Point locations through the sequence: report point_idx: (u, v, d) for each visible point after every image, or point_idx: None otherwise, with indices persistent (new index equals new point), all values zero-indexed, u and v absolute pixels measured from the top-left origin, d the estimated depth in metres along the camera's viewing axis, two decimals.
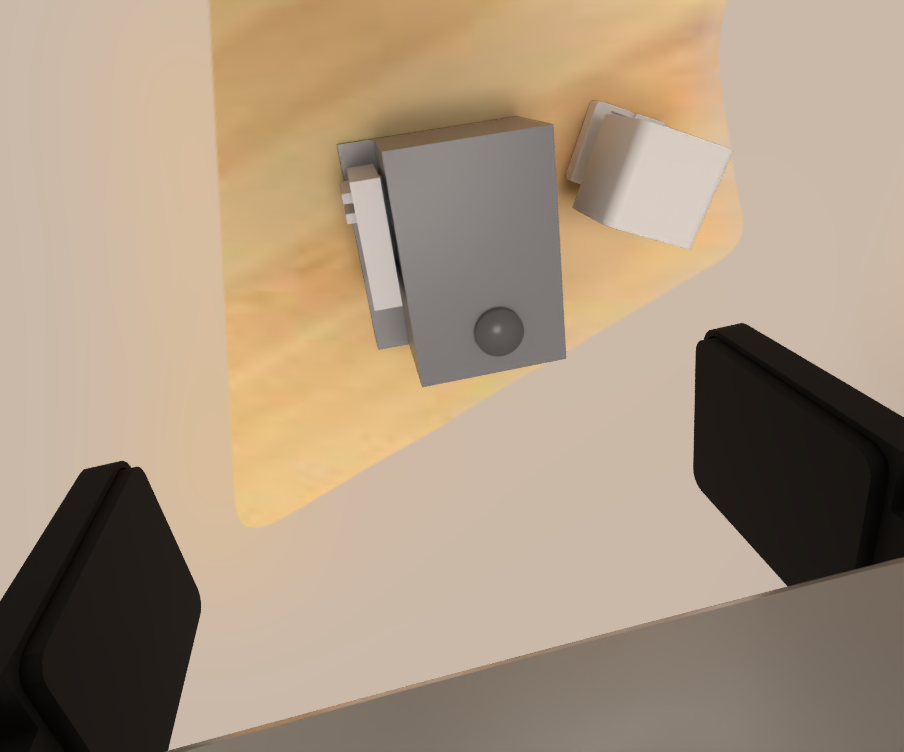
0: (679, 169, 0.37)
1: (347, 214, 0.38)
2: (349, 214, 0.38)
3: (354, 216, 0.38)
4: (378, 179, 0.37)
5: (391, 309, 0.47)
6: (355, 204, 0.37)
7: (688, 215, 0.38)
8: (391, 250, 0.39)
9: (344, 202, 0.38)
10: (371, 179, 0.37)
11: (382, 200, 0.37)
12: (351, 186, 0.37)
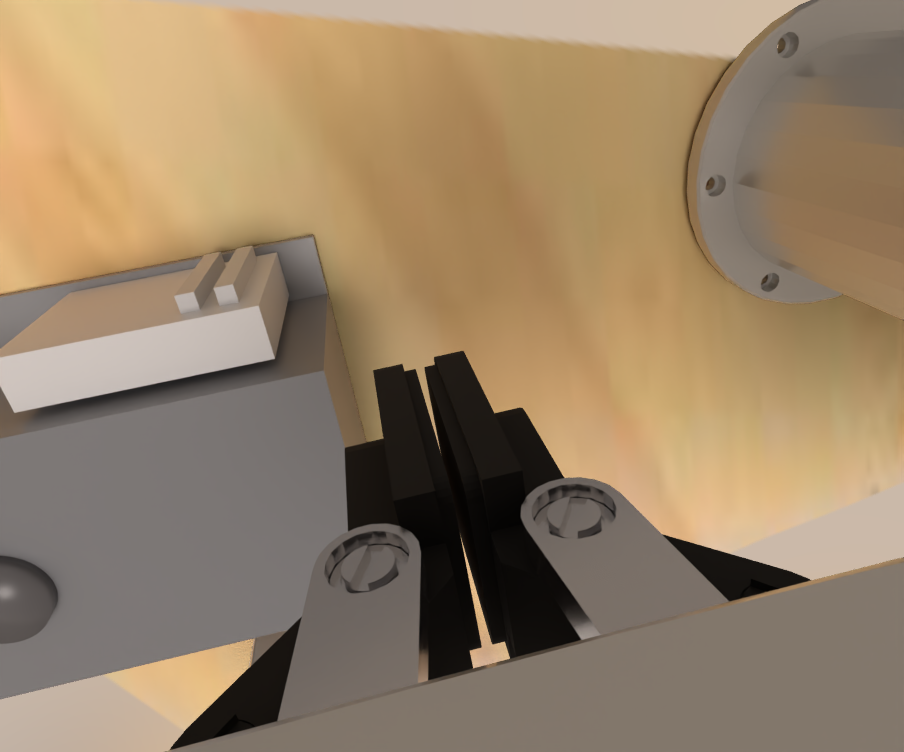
0: None
1: (194, 295, 0.19)
2: (195, 299, 0.20)
3: (192, 308, 0.20)
4: (271, 356, 0.20)
5: None
6: (217, 317, 0.19)
7: None
8: (134, 385, 0.20)
9: (217, 290, 0.19)
10: (269, 343, 0.20)
11: (232, 364, 0.20)
12: (251, 309, 0.19)
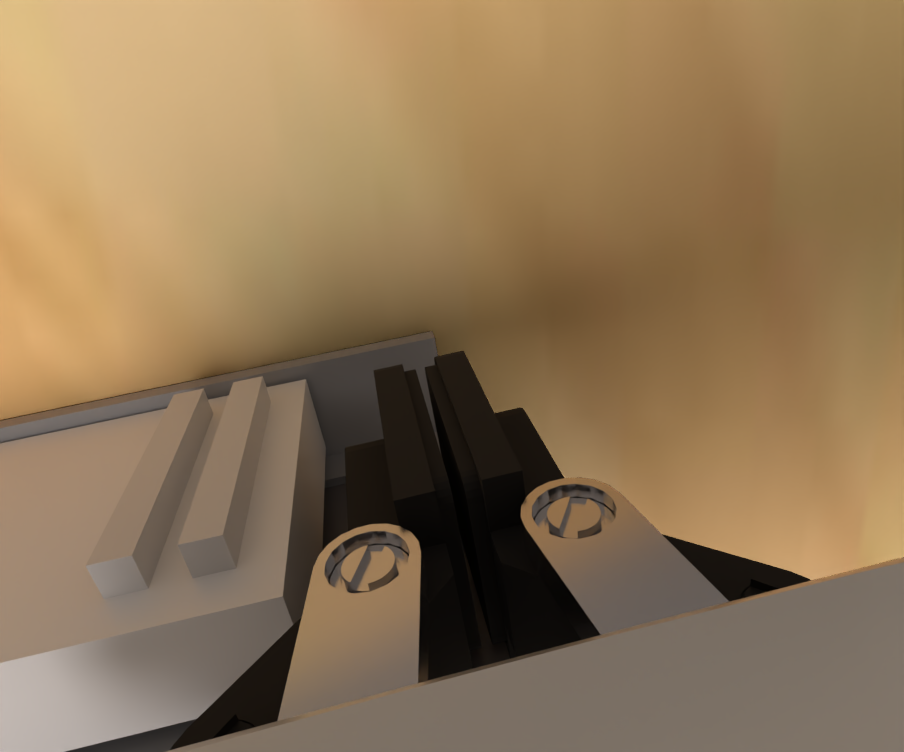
0: None
1: (134, 559, 0.08)
2: (136, 567, 0.08)
3: (131, 587, 0.09)
4: None
5: None
6: (185, 626, 0.08)
7: None
8: None
9: (188, 548, 0.08)
10: None
11: None
12: (266, 605, 0.08)
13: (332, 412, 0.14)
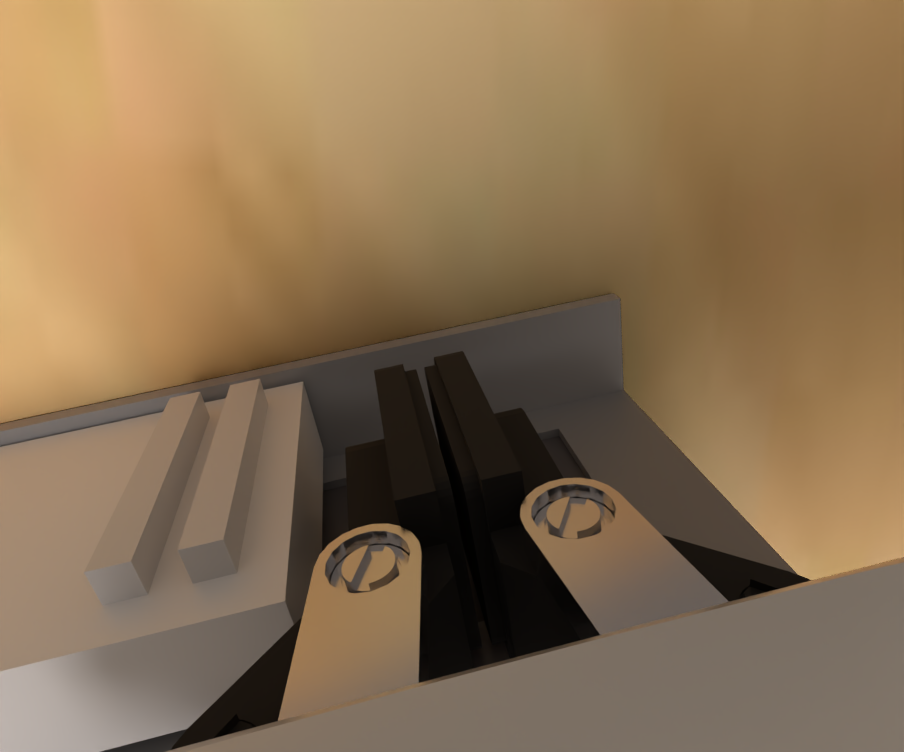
0: None
1: (133, 565, 0.08)
2: (135, 573, 0.08)
3: (130, 594, 0.08)
4: None
5: None
6: (186, 633, 0.08)
7: None
8: None
9: (188, 553, 0.08)
10: None
11: None
12: (268, 610, 0.08)
13: (516, 373, 0.15)
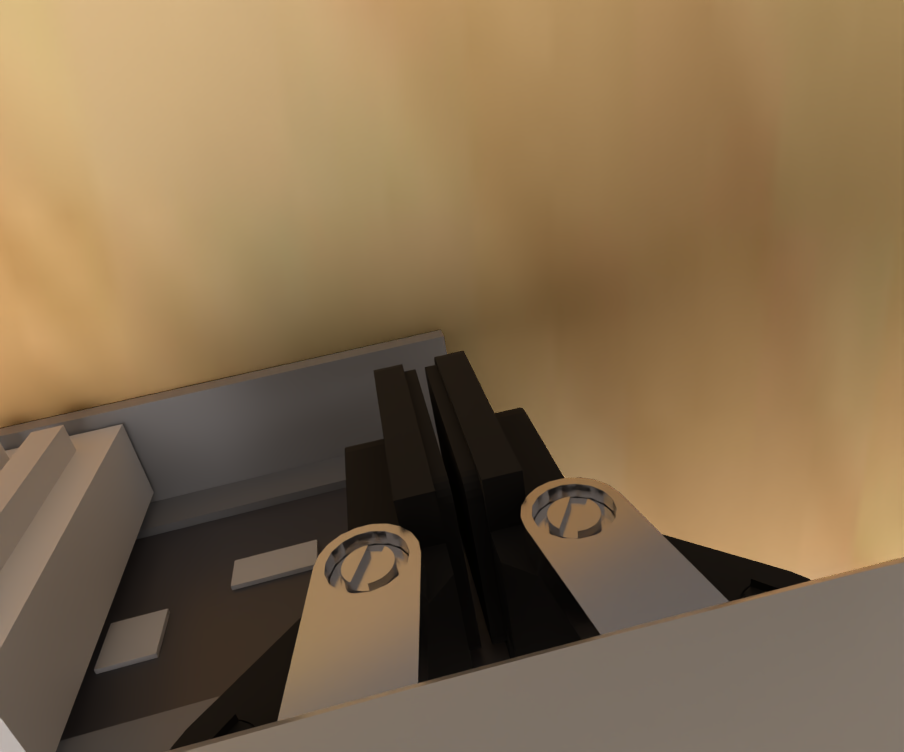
0: None
1: None
2: None
3: None
4: None
5: None
6: None
7: None
8: None
9: None
10: (27, 750, 0.08)
11: None
12: None
13: (341, 413, 0.14)
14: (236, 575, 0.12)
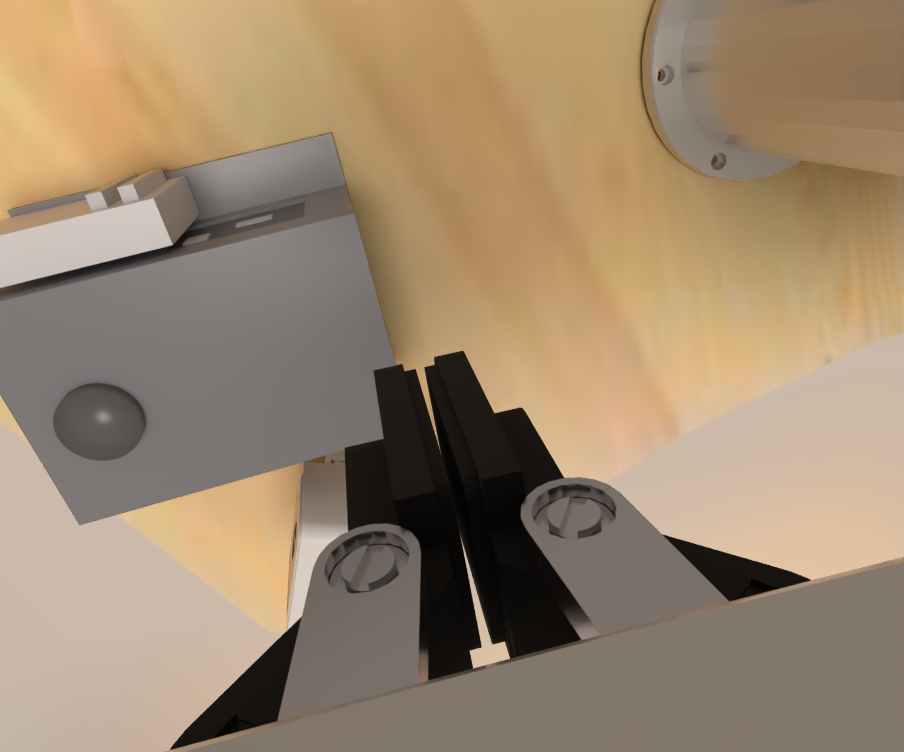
0: None
1: (102, 194, 0.24)
2: (102, 198, 0.24)
3: (101, 206, 0.24)
4: (169, 243, 0.24)
5: None
6: (120, 209, 0.23)
7: None
8: (57, 271, 0.24)
9: (120, 189, 0.24)
10: (167, 232, 0.24)
11: (137, 251, 0.24)
12: (148, 202, 0.24)
13: (286, 174, 0.30)
14: (238, 224, 0.28)
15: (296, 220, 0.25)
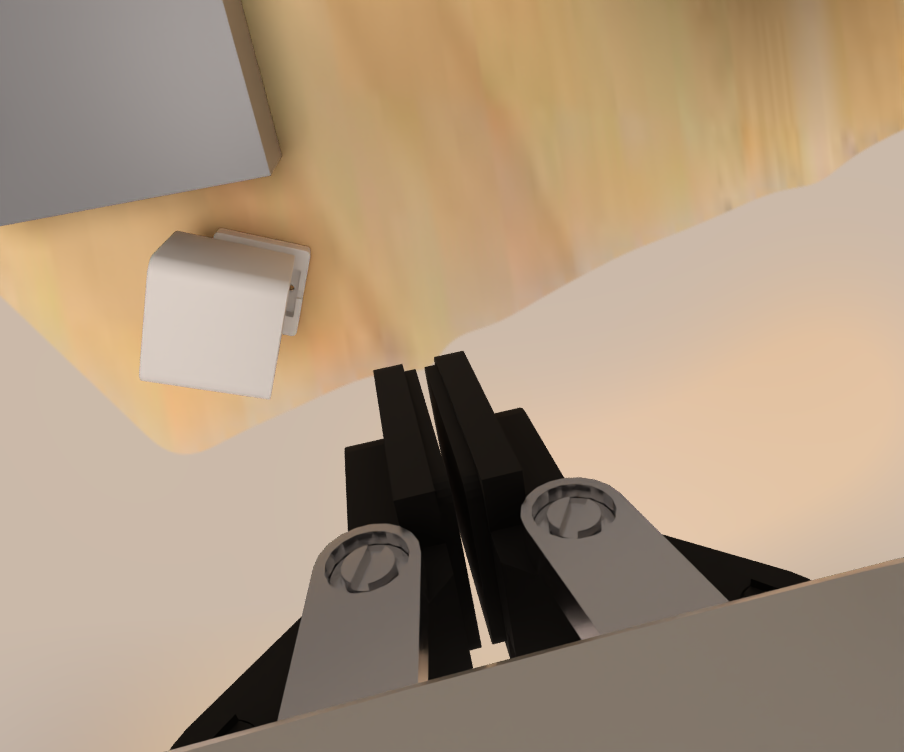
0: (237, 340, 0.30)
1: None
2: None
3: None
4: None
5: None
6: None
7: (183, 365, 0.30)
8: None
9: None
10: None
11: None
12: None
13: None
14: None
15: None
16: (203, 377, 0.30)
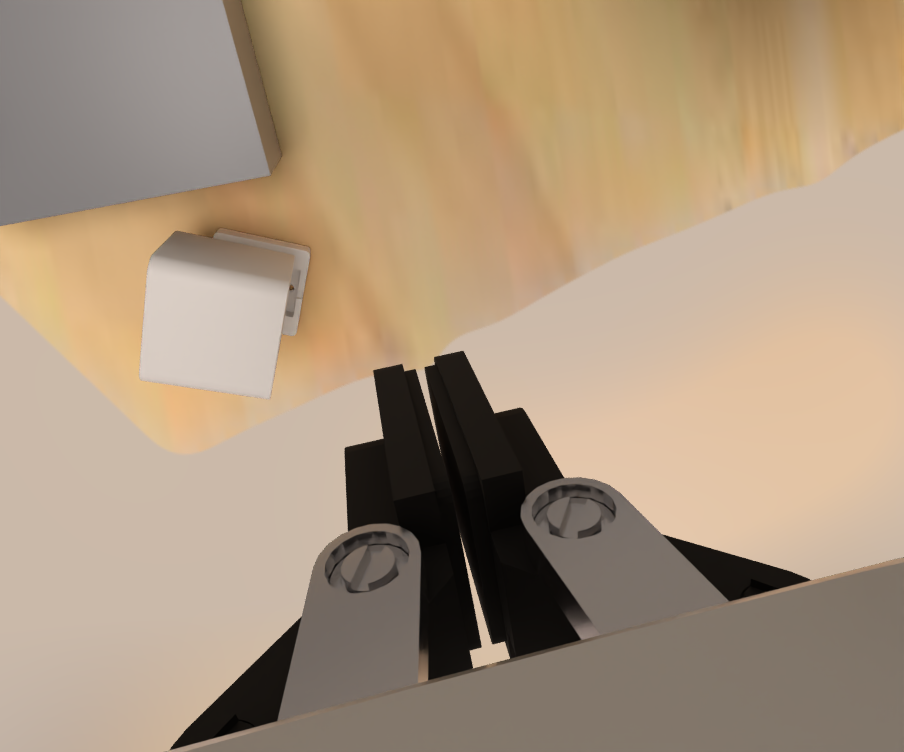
0: (237, 340, 0.30)
1: None
2: None
3: None
4: None
5: None
6: None
7: (182, 365, 0.30)
8: None
9: None
10: None
11: None
12: None
13: None
14: None
15: None
16: (203, 377, 0.30)
